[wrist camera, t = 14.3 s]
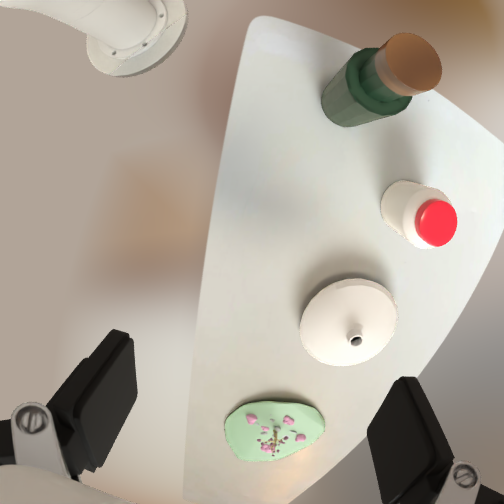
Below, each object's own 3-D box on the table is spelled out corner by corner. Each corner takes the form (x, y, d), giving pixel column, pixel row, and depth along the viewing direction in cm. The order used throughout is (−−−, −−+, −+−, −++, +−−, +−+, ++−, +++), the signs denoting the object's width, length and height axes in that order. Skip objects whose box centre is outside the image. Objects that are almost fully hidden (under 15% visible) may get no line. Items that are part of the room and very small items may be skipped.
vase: (322, 256, 44) (331, 275, 37) (408, 288, 45) (425, 309, 38) (283, 341, 49) (284, 368, 42) (363, 363, 50) (373, 389, 43)
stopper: (349, 68, 22) (372, 44, 16) (387, 50, 21) (418, 25, 14) (378, 111, 23) (410, 101, 17) (414, 91, 22) (452, 78, 16)
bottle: (311, 94, 37) (342, 47, 18) (350, 73, 35) (406, 20, 16) (339, 135, 38) (393, 123, 19) (377, 113, 37) (451, 90, 18)
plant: (299, 465, 61) (300, 494, 52) (216, 453, 61) (210, 482, 52) (338, 403, 53) (345, 437, 44) (234, 387, 53) (228, 422, 44)
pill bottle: (395, 170, 39) (431, 177, 29) (433, 197, 40) (473, 212, 29) (371, 216, 42) (399, 237, 31) (410, 240, 42) (443, 266, 32)
